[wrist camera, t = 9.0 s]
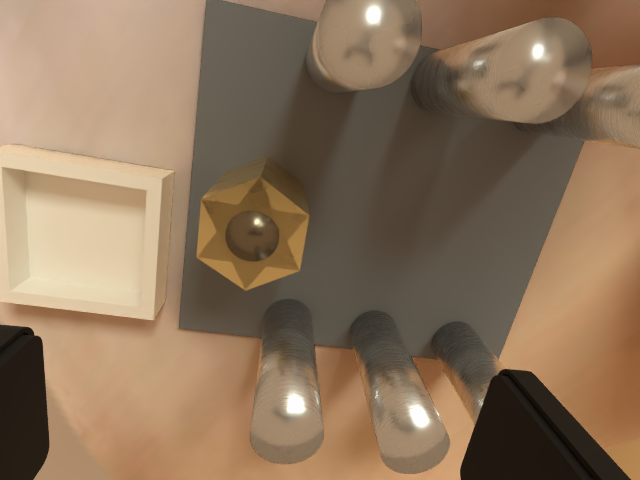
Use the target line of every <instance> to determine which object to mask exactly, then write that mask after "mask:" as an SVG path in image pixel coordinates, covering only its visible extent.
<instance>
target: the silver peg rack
mask: <svg viewBox="0 0 640 480" xmlns="http://www.w3.org/2000/svg"><path fill="white" fill-rule="evenodd" d="M421 35H422V21H421V15H420V11H419V8H418V5H417V3H416V1H415V0H327V1H326V3H325V5H324V7H323V10H322V13H321V15H320V18H319V21H318V23H317V26H316V29H315V31H314V34H313V37H312V39H311V42H310V45H309V47H308V50H307V55H306V65H307V70H308V73H309V75H310V77H311V79H312V80H313V82H314V83H315V84H316V85H317V86H318V87H320V88H321V89H323V90H325V91H328V92H332V93H339V92H348V91H356V90H365V89H373V88H379V87H383V86H386V85H388V84H390V83H392V82H394V81H395V80H397V79H398V78H399V77H400V76H402V75H403V74H404V73H405V72H406V71H407V69H408V68H409V67H410V65H411V64H412V62H413V61H414V59H415V57H416V54H417V52H418V49H419V46H420V42H421ZM591 67H592V53H591V48H590V44H589V42H588V39H587V37H586V35H585V34H584V32H583V31H582V30H581V29H580V28H579V27H578V26H577V25H576V24H574V23H573V22H571V21H569V20H566V19H563V18H558V17H548V18H542V19H539V20H536V21H532V22H529V23H526V24H523V25H520V26H517V27H513V28H510V29H507V30H504V31H501V32H498V33H494V34H491V35H488V36H485V37H482V38H479V39H476V40H472V41H469V42H466V43H463V44H460V45H457V46H453V47H450V48H447V49H444V50H441V51H438V52H434V53H432V54H429V55H428V56H426V57H425V58H424V59H422V60H421V61H420V62H419V64H418V65H417V67H416V68H415V70H414V73H413V75H412V80H411V91H412V95H413V98H414V100H415V102H416V103H417V104H418V106H419V107H420V108H422V109H423V110H425V111H427V112H430V113H435V114H445V115H455V116H464V117H474V118H484V119H493V120H503V121H512V123H513V124H514V126H515V127H516V128H518V129H519V130H521V131H523V132H527V133H534V134H541V135H548V136H555V137H562V138H568V139H575V140H582V141H589V142H596V143H603V144H610V145H617V146H624V147H631V148H638V149H640V64H634V65H624V66H613V67H603V68H593V69H591ZM350 337H351V341H352V345H353V349H354V353H355V357H356V361H357V364H358V368H359V372H360V376H361V380H362V384H363V388H364V392H365V396H366V400H367V403H368V407H369V411H370V415H371V419H372V423H373V427H374V431H375V435H376V439H377V442H378V446H379V450H380V454H381V458H382V460H383V462H384V463H385V465H386V466H387V467H389V468H390V469H392V470H394V471H396V472H399V473H403V474H416V473H421V472H424V471H427V470H429V469H431V468H433V467H435V466H436V465H437V464H439V463H440V462H441V461H442V460H443V459H444V457H445V456H446V454H447V452H448V450H449V446H450V439H449V436H448V433H447V431H446V429H445V427H444V425H443V423H442V420H441V418H440V416H439V414H438V412H437V410H436V408H435V406H434V404H433V401H432V399H431V397H430V395H429V393H428V391H427V389H426V387H425V384H424V382H423V380H422V378H421V376H420V374H419V372H418V370H417V368H416V365H415V363H414V361H413V359H412V357H411V355H410V353H409V351H408V348H407V346H406V344H405V342H404V340H403V338H402V336H401V334H400V332H399V329H398V327H397V325H396V323H395V321H394V319H393V318H392V317H391V316H390V315H389V314H387V313H385V312H383V311H377V310H374V311H368V312H365V313H363V314H361V315H360V316H358V317H357V318H356V319H355V320H354V322H353V323H352V325H351V328H350ZM431 345H432V350H433V352H434V354H435V355H436V357H437V359H438V361H439V363H440V364H441V366H442V368H443V370H444V371H445V373H446V375H447V377H448V378H449V380H450V382H451V384H452V385H453V387H454V389H455V391H456V392H457V394H458V396H459V398H460V399H461V401H462V403H463V405H464V407H465V408H466V410H467V412H468V414H469V415H470V417H471V419H472V421H473V422H474V424H476V422H477V419H478V416H479V413H480V410H481V407H482V404H483V401H484V398H485V396H486V393H487V390H488V387H489V384H490V381H491V379H492V377H493V376H495V375H498V373H499V372H500V371H501V370H503V369H505V368H504V366H503V365H502V364H501V363H500V361H499V360H498V359H497V358H496V356H495V355H494V354H493V353H492V351H491V350H490V349H489V348H488V346H487V345H486V344H485V343H484V341H483V340H482V339H481V338H480V336H479V335H478V334H477V333H476V331H475V330H474V329H473V328H472V327H471V326H470V325H469V324H467V323H464V322H459V321H456V322H450V323H447V324H445V325H443V326H442V327H440V328H439V329H438V330H437V331H436V333H435V334H434V336H433V338H432V343H431ZM323 437H324V430H323V420H322V410H321V401H320V391H319V381H318V372H317V362H316V352H315V342H314V333H313V323H312V315H311V312H310V310H309V309H308V307H307V306H306V305H305V304H303V303H302V302H300V301H298V300H295V299H282V300H278V301H276V302H274V303H273V304H271V305H270V306H269V307H268V309H267V310H266V312H265V314H264V319H263V328H262V336H261V345H260V353H259V362H258V371H257V379H256V388H255V396H254V405H253V413H252V422H251V430H250V442H251V445H252V447H253V449H254V450H255V452H256V453H257V454H258V455H259V456H261V457H262V458H264V459H265V460H268V461H270V462H273V463H278V464H292V463H297V462H301V461H303V460H305V459H307V458H309V457H311V456H312V455H313V454H314V453H315V452H316V451H317V450H318V449H319V448H320V446H321V444H322V441H323Z"/></svg>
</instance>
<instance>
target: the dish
mask: <svg viewBox="0 0 640 480" xmlns="http://www.w3.org/2000/svg"><path fill="white" fill-rule="evenodd" d="M173 184H174V171H171V170H165V169H160V168H154V167H148V166H142V165H136V164H130V163H124V162H118V161H112V160H107V159H101V158H95V157H89V156H83V155H77V154H71V153H65V152H59V151H54V150H48V149H42V148H36V147H30V146H24V145H18V144H11V145H5V146H0V302H7V303H15V304H23V305H31V306H40V307H48V308H56V309H64V310H73V311H81V312H89V313H97V314H105V315H114V316H122V317H130V318H138V319H147V320H154V319H155V317H156V315H157V314H158V312H159V311H160V309H161V307H162V306H163V304H164V302H165V296H166V282H167V268H168V254H169V240H170V226H171V212H172V198H173Z"/></svg>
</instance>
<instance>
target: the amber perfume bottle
mask: <svg viewBox="0 0 640 480" xmlns="http://www.w3.org/2000/svg"><path fill="white" fill-rule="evenodd" d="M308 221H309V210H308V204H307V199H306V193H305V187H304V185H303V184H302V183H301V182H300V181H298V180H297V179H296V178H295V177H293V176H292V175H291V174H290V173H288V172H287V171H286V170H285V169H284V168H282V167H281V166H280V165H279V164H277V163H276V162H275V161H274V160H272V159H271V158H270V157H269V156H266V157H264V158H261V159H258V160H256V161H253V162H251V163H248V164H245V165H243V166H240V167H237V168H235V169H232V170H230V171H227V172H224V174H223V175H222V176H221V177H220V178H219V179H218V180H217V182H216V183H215V184H214V185H213V186H212V187H211V188H210V190H209V191H208V192H207V193H206V194H205V195H204V196H203V198H202V199H201V207H200V219H199V231H198V244H197V256H196V257H197V258H198V259H200V260H201V261H203V262H204V263H205V264H207V265H208V266H210V267H211V268H213V269H214V270H216V271H217V272H219V273H220V274H222V275H223V276H225V277H226V278H228V279H229V280H231V281H232V282H233V283H235V284H236V285H238V286H239V287H241V288H242V289H244V290H245V291H246V290H249V289H252V288H254V287H257V286H260V285H263V284H265V283H268V282H271V281H274V280H276V279H279V278H282V277H285V276H287V275H290V274H293V273H295V272H298V271H300V267H301V261H302V255H303V249H304V244H305V238H306V232H307V226H308Z"/></svg>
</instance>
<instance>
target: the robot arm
mask: <svg viewBox="0 0 640 480" xmlns="http://www.w3.org/2000/svg"><path fill="white" fill-rule="evenodd" d="M48 451H49V431H48V417H47V401H46V387H45V372H44V357H43V343H42V339H41V338H40V337H39V336H34V332H33V330H32V329H31V328H29V327H20V326H9V325H0V480H33V479H34V478H35V476H36V475H37V473H38V472H39V470H40V469H41V467H42V466H43V464H44V462H45V460H46V457H47V454H48ZM460 475H461V480H631V479H630V478H629V477H628V476H627V475H626V474H625V473H624V472H623V471H622V469H621V468H620V467H619V466H618V465H617V464H616V463H615V462H614V461H613V460H612V459H611V457H610V456H609V455H608V454H607V453H606V452H605V451H604V450H603V449H602V448H601V447H600V445H599V444H598V443H597V442H596V441H595V440H594V439H593V438H592V437H591V436H590V435H589V434H588V432H587V431H586V430H585V429H584V428H583V427H582V426H581V425H580V424H579V423H578V422H577V420H576V419H575V418H574V417H573V416H572V415H571V414H570V413H569V412H568V411H567V410H566V409H565V407H564V406H563V405H562V404H561V403H560V402H559V401H558V400H557V399H556V398H555V397H554V395H553V394H552V393H551V392H550V391H549V390H548V389H547V388H546V387H545V386H544V385H543V383H542V382H541V381H540V380H539V379H538V378H537V377H536V376H535V375H534V374H533V373H532V372H529V371H522V370H510V369H503V370H501V371H500V372H499V373H498V375H495V376H493V377H492V379H491V381H490V384H489V387H488V390H487V393H486V396H485V398H484V401H483V404H482V407H481V410H480V413H479V416H478V419H477V422H476V424H475V427H474V430H473V433H472V436H471V439H470V442H469V445H468V448H467V450H466V453H465V456H464V459H463V462H462V465H461V470H460Z"/></svg>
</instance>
